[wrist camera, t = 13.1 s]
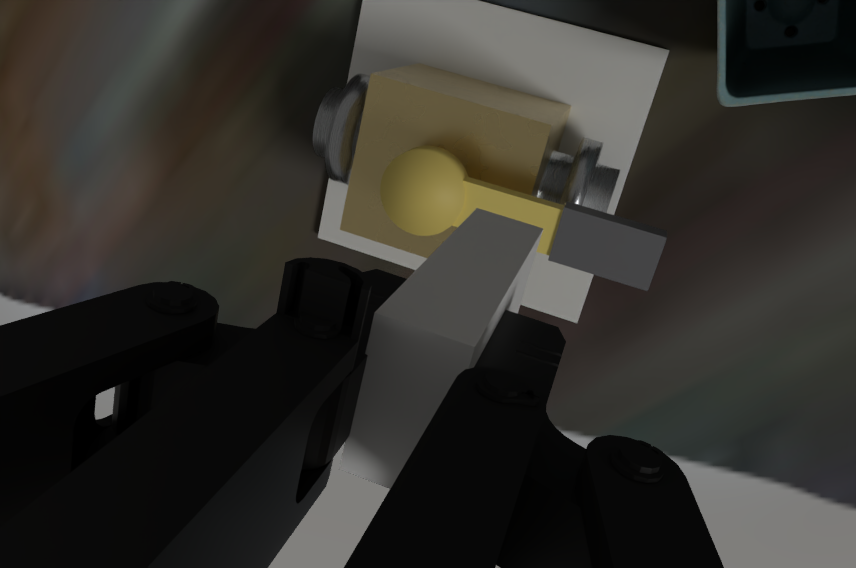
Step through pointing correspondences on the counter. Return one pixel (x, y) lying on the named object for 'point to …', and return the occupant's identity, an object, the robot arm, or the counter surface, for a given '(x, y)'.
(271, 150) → the counter surface
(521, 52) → the mat
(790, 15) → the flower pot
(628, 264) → the lever
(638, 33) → the counter surface
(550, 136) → the valve
